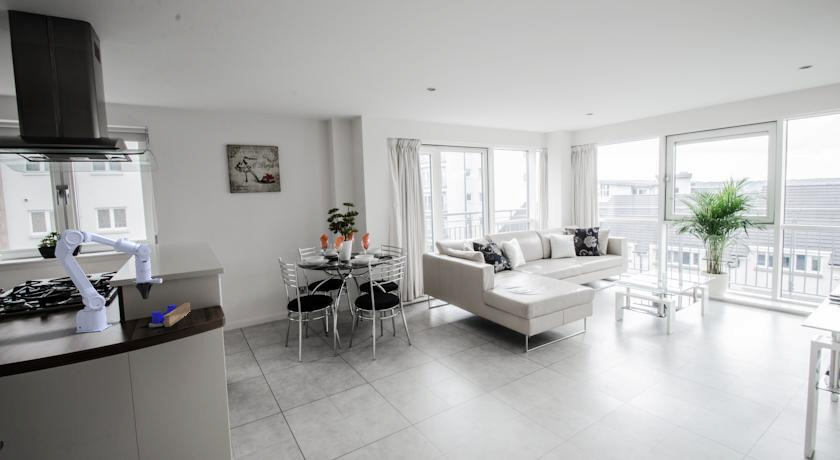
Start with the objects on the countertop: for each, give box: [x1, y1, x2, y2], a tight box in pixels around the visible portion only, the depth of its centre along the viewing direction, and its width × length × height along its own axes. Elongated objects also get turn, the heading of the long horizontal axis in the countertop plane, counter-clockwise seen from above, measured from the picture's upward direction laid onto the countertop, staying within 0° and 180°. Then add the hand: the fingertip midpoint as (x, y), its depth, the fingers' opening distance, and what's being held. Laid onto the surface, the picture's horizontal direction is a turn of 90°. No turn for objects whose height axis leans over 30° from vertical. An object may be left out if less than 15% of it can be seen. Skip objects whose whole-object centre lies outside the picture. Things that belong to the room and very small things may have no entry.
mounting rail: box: [148, 321, 165, 328], centre depth 176 cm, size 7×18×2 cm, turn 9°
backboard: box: [164, 302, 192, 328], centre depth 177 cm, size 2×21×5 cm, turn 9°
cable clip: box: [151, 304, 177, 323], centre depth 174 cm, size 12×4×6 cm, turn 179°
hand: (145, 298), depth 178 cm, fingers closed
